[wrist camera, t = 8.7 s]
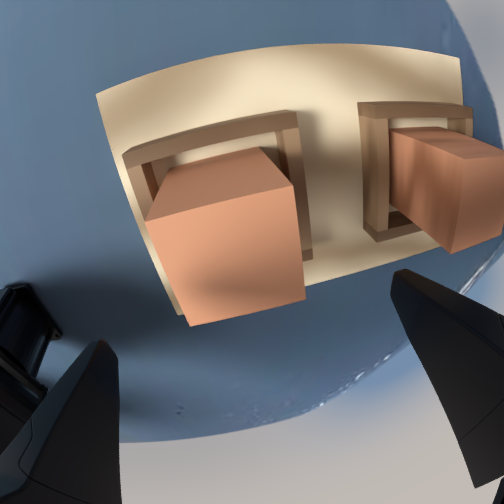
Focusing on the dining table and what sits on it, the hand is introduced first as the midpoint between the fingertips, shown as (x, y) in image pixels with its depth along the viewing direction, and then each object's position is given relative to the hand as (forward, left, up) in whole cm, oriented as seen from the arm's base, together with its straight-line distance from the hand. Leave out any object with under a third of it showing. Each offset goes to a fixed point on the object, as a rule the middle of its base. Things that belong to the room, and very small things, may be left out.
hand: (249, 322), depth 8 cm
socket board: (0, -6, -11) cm, 13 cm away
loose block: (0, 0, -10) cm, 10 cm away
